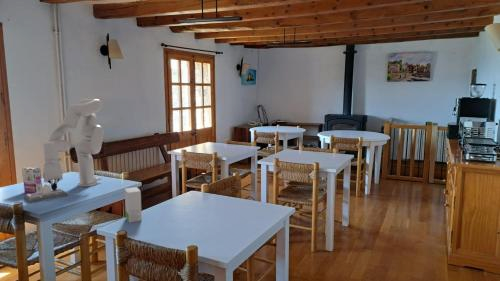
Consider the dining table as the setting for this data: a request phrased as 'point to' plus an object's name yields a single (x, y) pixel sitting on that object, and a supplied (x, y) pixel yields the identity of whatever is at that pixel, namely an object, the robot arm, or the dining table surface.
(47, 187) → the fader knob
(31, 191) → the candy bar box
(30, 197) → the console
